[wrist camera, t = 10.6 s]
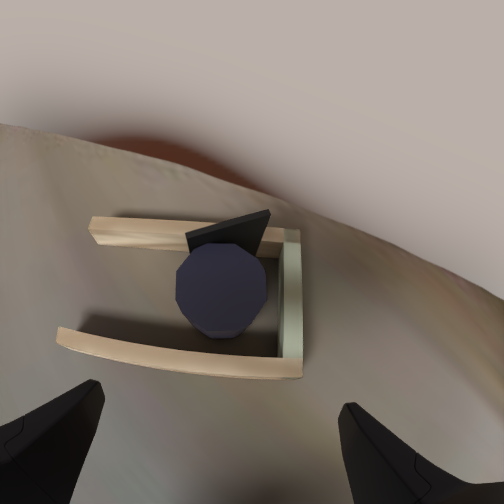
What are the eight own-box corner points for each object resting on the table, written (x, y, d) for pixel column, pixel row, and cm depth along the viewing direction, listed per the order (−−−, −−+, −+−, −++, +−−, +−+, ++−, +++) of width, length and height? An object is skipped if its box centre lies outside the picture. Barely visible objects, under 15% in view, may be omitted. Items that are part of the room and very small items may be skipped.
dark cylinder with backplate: (190, 261, 26) (177, 199, 17) (251, 263, 27) (270, 203, 17) (186, 342, 23) (164, 324, 14) (252, 344, 24) (275, 327, 14)
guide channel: (294, 379, 21) (302, 377, 19) (72, 349, 21) (55, 342, 18) (293, 246, 28) (299, 229, 25) (102, 232, 27) (92, 216, 25)
